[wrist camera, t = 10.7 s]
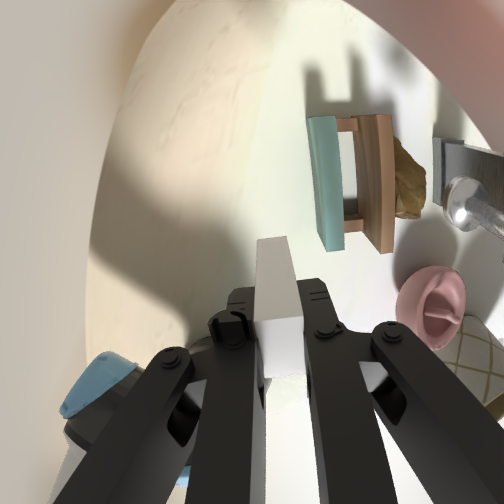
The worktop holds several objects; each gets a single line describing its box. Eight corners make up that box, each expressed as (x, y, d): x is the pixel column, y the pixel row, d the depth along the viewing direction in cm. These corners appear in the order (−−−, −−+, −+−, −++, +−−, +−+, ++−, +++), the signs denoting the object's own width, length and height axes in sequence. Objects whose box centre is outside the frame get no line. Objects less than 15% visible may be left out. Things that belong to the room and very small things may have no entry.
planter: (443, 302, 39) (500, 384, 21) (495, 312, 40) (541, 374, 22) (393, 376, 47) (421, 457, 29) (450, 375, 48) (479, 438, 30)
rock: (359, 110, 25) (340, 197, 27) (436, 121, 20) (419, 219, 22) (384, 145, 33) (370, 212, 35) (442, 157, 28) (427, 230, 30)
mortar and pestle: (458, 267, 36) (496, 306, 25) (418, 323, 41) (445, 369, 30) (412, 238, 34) (455, 280, 24) (370, 304, 39) (395, 357, 29)
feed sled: (317, 231, 34) (330, 260, 27) (305, 118, 29) (318, 115, 21) (368, 225, 34) (393, 252, 26) (362, 116, 28) (391, 114, 21)
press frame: (390, 205, 32) (512, 313, 11) (387, 136, 29) (542, 175, 7) (455, 200, 31) (573, 281, 10) (455, 138, 27) (593, 182, 6)
